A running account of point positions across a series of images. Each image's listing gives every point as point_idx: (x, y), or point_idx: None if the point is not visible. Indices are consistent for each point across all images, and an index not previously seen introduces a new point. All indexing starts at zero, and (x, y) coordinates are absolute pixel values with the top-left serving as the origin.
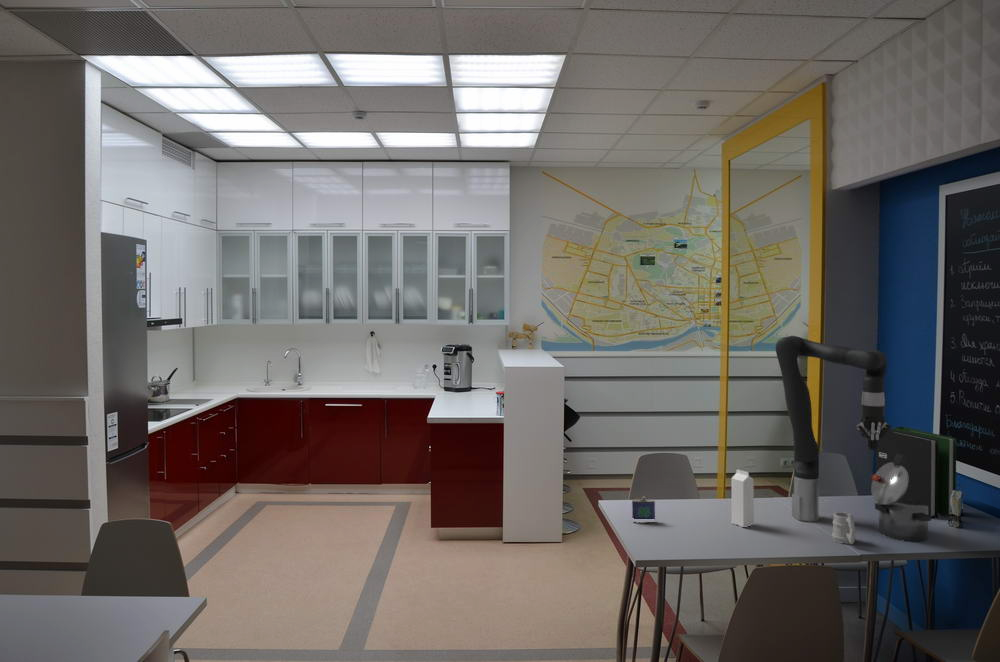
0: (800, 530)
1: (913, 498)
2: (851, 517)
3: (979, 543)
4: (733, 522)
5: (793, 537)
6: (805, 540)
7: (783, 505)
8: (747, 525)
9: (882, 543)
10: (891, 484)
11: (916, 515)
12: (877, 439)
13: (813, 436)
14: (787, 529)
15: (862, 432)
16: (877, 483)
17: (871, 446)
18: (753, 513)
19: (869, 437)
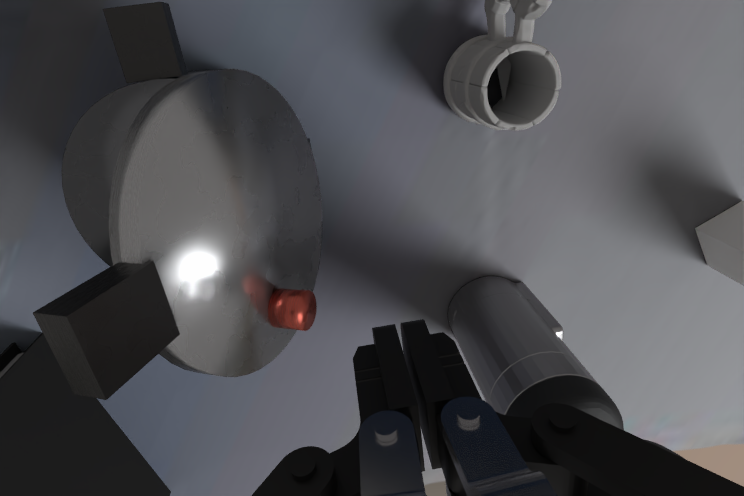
0: (570, 188)
1: (60, 427)
2: None
3: None
4: None
5: (635, 113)
6: (612, 81)
7: None
8: (729, 213)
9: (343, 50)
10: (248, 188)
11: (174, 45)
12: (379, 418)
13: None
14: (607, 197)
15: (727, 481)
16: (289, 285)
17: (438, 348)
18: (731, 244)
19: (513, 438)
